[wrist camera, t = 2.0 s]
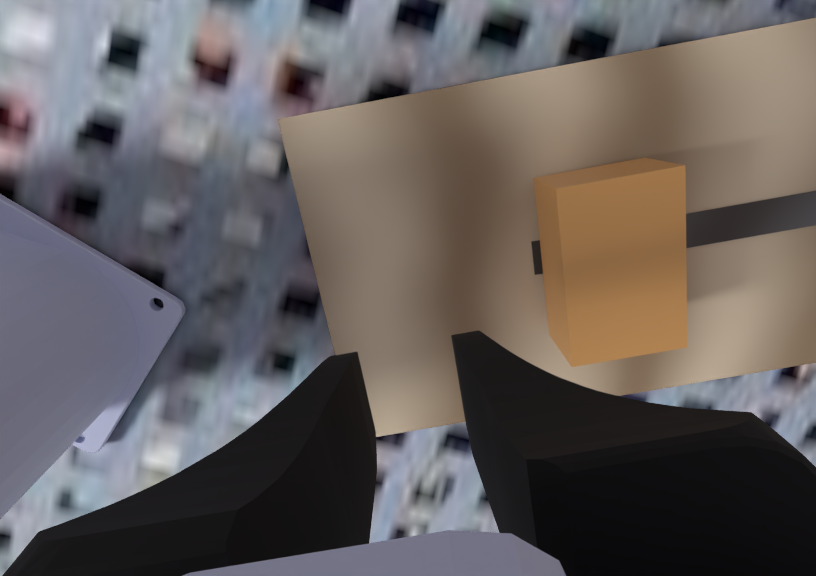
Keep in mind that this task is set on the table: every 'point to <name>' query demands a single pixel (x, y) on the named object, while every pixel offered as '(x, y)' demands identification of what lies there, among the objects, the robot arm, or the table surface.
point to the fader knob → (614, 259)
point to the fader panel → (518, 224)
